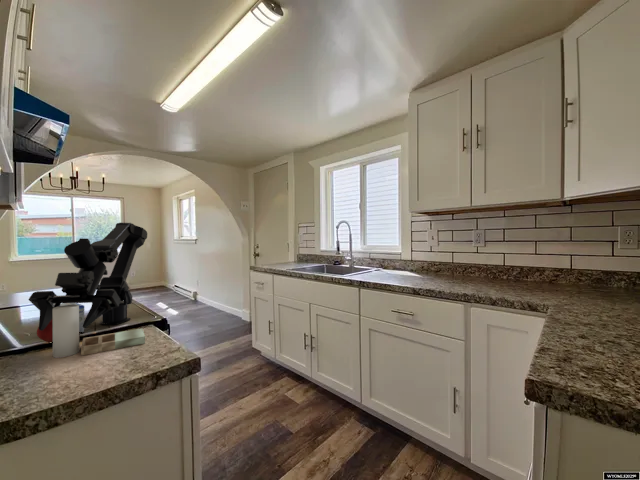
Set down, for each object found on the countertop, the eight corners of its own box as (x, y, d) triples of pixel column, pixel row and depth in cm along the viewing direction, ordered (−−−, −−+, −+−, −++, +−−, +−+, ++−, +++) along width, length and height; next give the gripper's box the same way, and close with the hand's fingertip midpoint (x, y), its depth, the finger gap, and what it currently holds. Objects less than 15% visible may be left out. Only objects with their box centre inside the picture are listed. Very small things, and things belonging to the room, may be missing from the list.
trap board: (81, 355, 69) (81, 347, 69) (83, 345, 75) (83, 338, 75) (145, 343, 77) (145, 336, 77) (142, 334, 84) (142, 328, 84)
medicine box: (55, 332, 85) (55, 304, 85) (73, 327, 89) (73, 301, 89) (66, 336, 82) (66, 307, 81) (84, 332, 86) (84, 304, 85)
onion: (69, 337, 81) (69, 311, 80) (59, 345, 75) (59, 316, 75) (44, 340, 79) (44, 312, 78) (31, 348, 73) (31, 318, 73)
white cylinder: (68, 348, 73) (68, 304, 73) (84, 350, 72) (84, 305, 72) (47, 356, 68) (46, 309, 68) (63, 358, 67) (63, 310, 67)
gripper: (34, 261, 72) (-5, 314, 61) (115, 260, 76) (92, 310, 66) (55, 285, 79) (24, 336, 69) (128, 283, 84) (109, 331, 73)
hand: (62, 328), depth 69 cm, fingers open, 9 cm apart
